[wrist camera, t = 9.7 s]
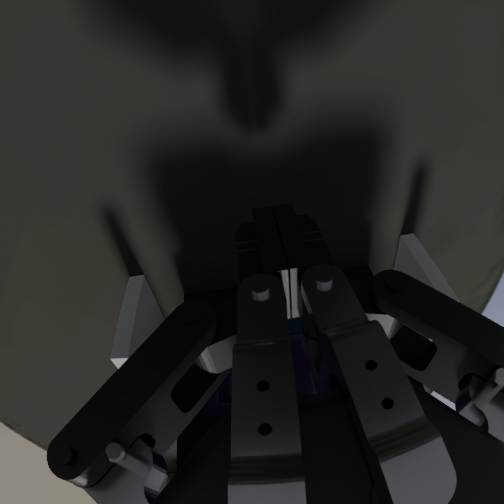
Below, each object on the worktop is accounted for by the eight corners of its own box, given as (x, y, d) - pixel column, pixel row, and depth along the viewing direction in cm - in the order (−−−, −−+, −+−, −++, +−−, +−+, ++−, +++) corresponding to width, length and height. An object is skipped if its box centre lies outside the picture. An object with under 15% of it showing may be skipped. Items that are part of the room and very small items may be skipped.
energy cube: (367, 264, 20) (441, 434, 11) (349, 360, 28) (383, 479, 18) (184, 293, 20) (176, 484, 11) (221, 381, 28) (228, 506, 18)
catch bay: (129, 276, 19) (110, 358, 14) (413, 233, 19) (459, 301, 14) (200, 401, 30) (201, 454, 25) (372, 373, 30) (388, 423, 25)
